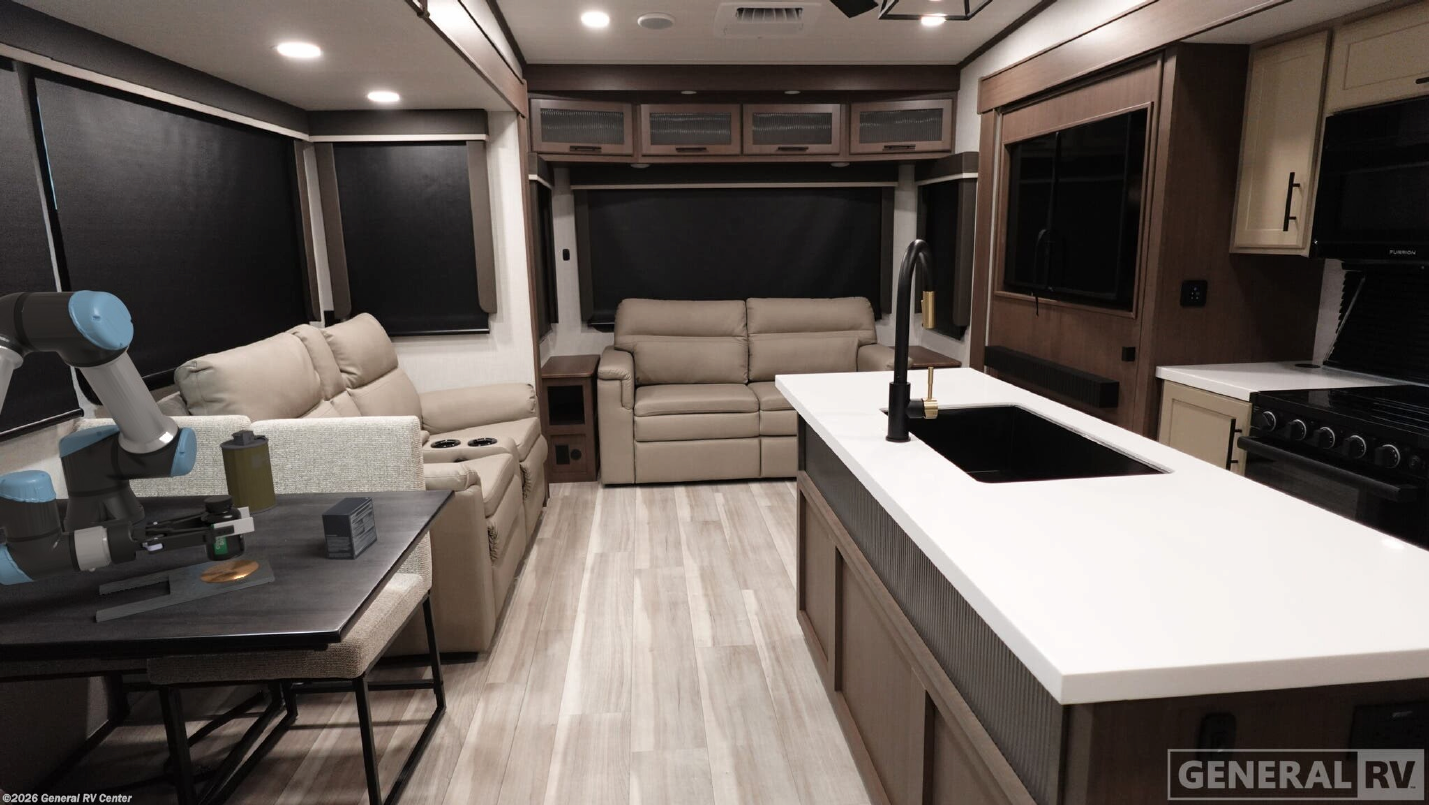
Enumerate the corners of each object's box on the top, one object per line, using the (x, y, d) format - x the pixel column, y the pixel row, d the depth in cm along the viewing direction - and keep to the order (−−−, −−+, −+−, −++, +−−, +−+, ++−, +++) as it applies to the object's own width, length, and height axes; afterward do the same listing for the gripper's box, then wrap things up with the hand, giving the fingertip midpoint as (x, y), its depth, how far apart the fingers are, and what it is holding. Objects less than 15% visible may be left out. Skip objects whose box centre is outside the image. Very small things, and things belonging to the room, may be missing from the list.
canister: (255, 516, 187) (244, 437, 183) (219, 513, 189) (207, 435, 185) (288, 501, 198) (278, 426, 193) (253, 498, 200) (242, 424, 195)
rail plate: (97, 622, 136) (95, 616, 136) (100, 589, 149) (99, 584, 149) (275, 581, 153) (274, 575, 152) (264, 554, 165) (264, 549, 165)
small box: (349, 540, 173) (345, 496, 171) (378, 540, 173) (373, 496, 171) (325, 559, 163) (319, 513, 160) (355, 560, 163) (350, 513, 160)
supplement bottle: (227, 563, 150) (218, 505, 147) (198, 560, 151) (188, 503, 148) (254, 549, 156) (246, 493, 154) (226, 547, 158) (217, 491, 155)
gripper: (113, 547, 150) (248, 521, 164) (109, 582, 135) (259, 551, 148) (106, 511, 149) (243, 488, 162) (102, 543, 133) (254, 514, 147)
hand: (251, 518), depth 155 cm, fingers closed on supplement bottle, 7 cm apart
